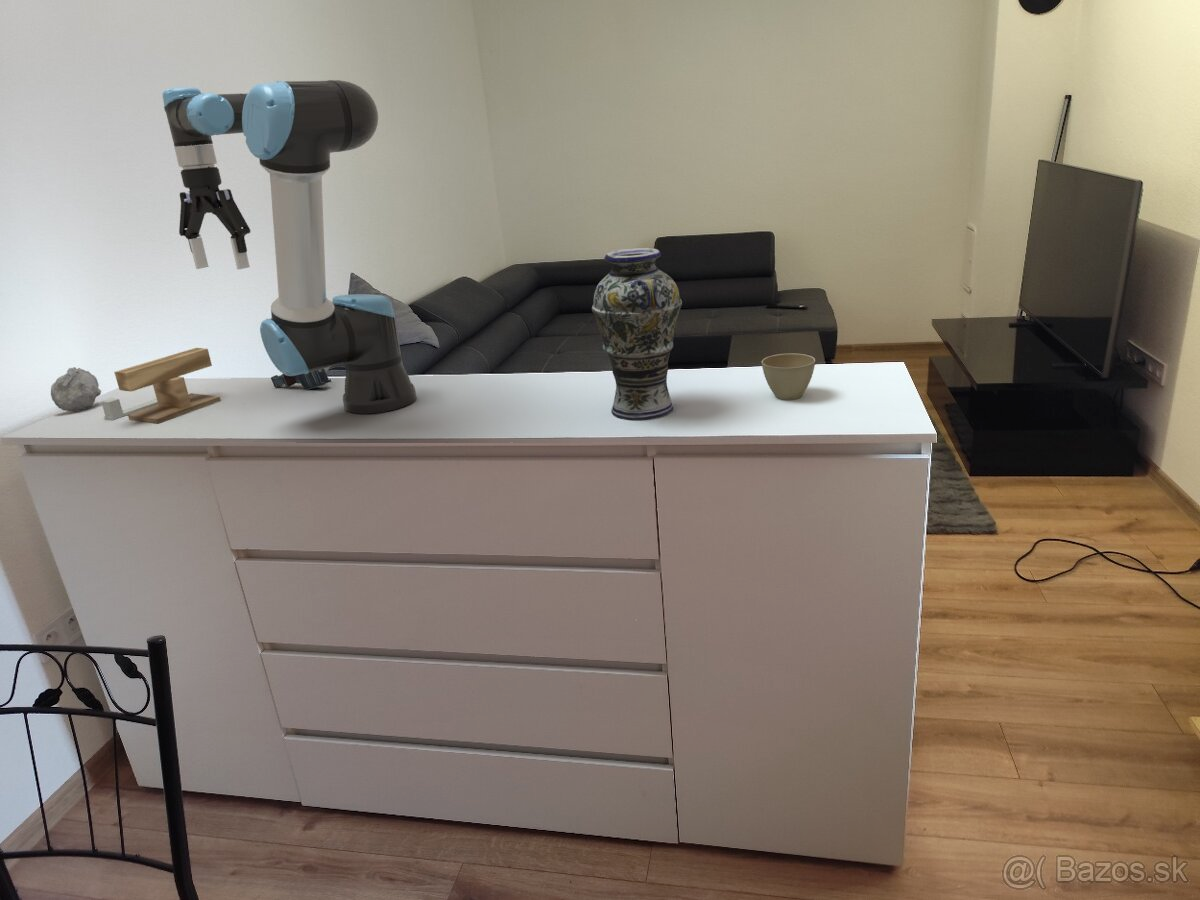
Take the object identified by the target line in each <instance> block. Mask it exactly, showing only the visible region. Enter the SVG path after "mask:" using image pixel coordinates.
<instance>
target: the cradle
mask: <svg viewBox="0 0 1200 900" xmlns="http://www.w3.org/2000/svg"><path fill="white" fill-rule="evenodd" d="M100 402H101V406H102V410H103V413H104V416H103V417H104V420H109V421H114V420H117V419H120V418H124V417H126V416H128V415H130V414H133V413H135V412H138V411H141V410H144V409H147V408H150V407H153V406H156V405H158V402H157V398H155V399H153V400H152V399H151V400H149V401H146V402H143V403H140V404H137V405H134V406H131V407H128V408H124V409H122V408H123V407H122V404H121V402H120V398H114V397H111V398H106V399H104V400H103V399H102V400H101V401H100Z"/></svg>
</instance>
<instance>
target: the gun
mask: <svg viewBox="0 0 1200 900" xmlns="http://www.w3.org/2000/svg"><path fill="white" fill-rule="evenodd" d="M270 379H271V382H272V384H273V386H274V388H275V389H277V388H278V389H279V387H282V386H285V387H286V388H289V387H292V386H294V385H295V384H299V385H301V386H302V387H303V389H304V390H305V391H308V390H312V389H315V388H318V387H322V386H326V384H328V383H332V379H331V378H329V376H328V374H327V371H326V368H324V369H320V370H316V371H312V372H309V373H308V374H299V375H295V376H287V375H285V374H283V373H281V375H277V374H275V375H273V376H271V377H270Z"/></svg>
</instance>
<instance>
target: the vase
mask: <svg viewBox="0 0 1200 900" xmlns="http://www.w3.org/2000/svg"><path fill="white" fill-rule="evenodd" d="M661 256H662V253H661V251H660V250H658V249H657V248H652V247H649V248H648V247H639V248H638V247H637V248H636V247H635V248H624V249H618V250H613V251H610V252H608V253H606V254H605V255H604V257H603V258H604V260H605V262H608V263H610V264H611V270H610V271H609V272H608V274H607V275H605V276H604V277H603V278H602V279H601V280H600V281H599V283H598V284H597V286H596V287H595V290H594V293H593V304H592V307H591V311H592V313H593V315H594V317H595V320H596V323H597V327H598V330H599V333H600V337H601V340H602V341H601V342H602V349H603V350H604V352H606V354H607V356H608V359H609V361H610V364H611V367H612V374H613V377H614V381H615V385H616V386H615V391H614V393H615V394H614V398H613V399H614V400H613V403H612V406H611V407H612V408H611V414H612V416H613V417H616V418H618V419H620V420H628V421H650V420H655V419H660V418H663V417H666V416H668V415H670V414H671V413H673V411H674V409H675V407H674V405H673V403H672V399H671V396H670V392H669V389H668V388H669V387H668V383H667V378H668V372H669V366H668V365H669V358H670V353H671V351H672V349H673V348H674V342H673V341H674V334H675V329H676V328H675V327H676V324H677V320H678V316H679V313H680V310H681V307H682V305H683V301H682V299H681V296H680V291H679V287H678V285H677V283H676V282H675V281H674V279H673V278H672V277H671V276H669V275H668V274H667V273H665V272H664V271H662V270H660V269H659V268H658V267H657V266H656V260H657V259H658V258H660V257H661Z"/></svg>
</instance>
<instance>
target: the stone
mask: <svg viewBox="0 0 1200 900" xmlns="http://www.w3.org/2000/svg"><path fill="white" fill-rule="evenodd" d="M99 386H100V385H99V382H98V378H97V377H96V376H95V375H94V374H92V373H91V372H90V371H89V370H85V369H82V368H80V367H78V368H76V367H69V368H68V369H67V370H66V373H65V374H63V375H61V376H59V377H57V378H56V380H55V382H54V383H52V385H51V387H50V396H51V400H52V401H53V403H54V404H55V406H57V407H58V409H61V410H62V411H68V412H76V411H78V410H82V409H87V408H91V407H92V406H93V404H94V403H95V402H96V398H97V397H99V396H100V395H101V393H102V390H101V389H100V388H99Z"/></svg>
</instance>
